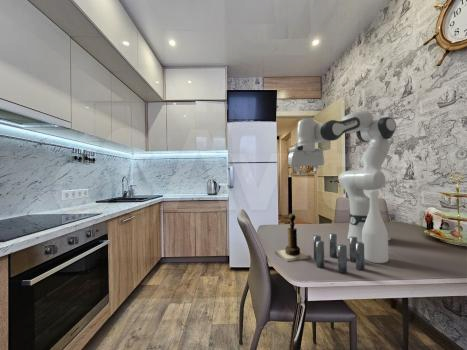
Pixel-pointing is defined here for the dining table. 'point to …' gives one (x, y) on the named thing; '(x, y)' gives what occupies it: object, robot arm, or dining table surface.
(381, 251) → the wine bottle
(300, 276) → the dining table surface
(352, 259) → the capsules
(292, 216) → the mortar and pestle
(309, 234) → the dining table surface
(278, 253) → the birch board
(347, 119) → the robot arm
